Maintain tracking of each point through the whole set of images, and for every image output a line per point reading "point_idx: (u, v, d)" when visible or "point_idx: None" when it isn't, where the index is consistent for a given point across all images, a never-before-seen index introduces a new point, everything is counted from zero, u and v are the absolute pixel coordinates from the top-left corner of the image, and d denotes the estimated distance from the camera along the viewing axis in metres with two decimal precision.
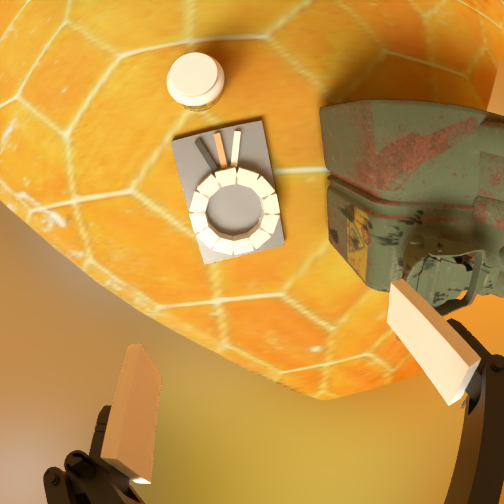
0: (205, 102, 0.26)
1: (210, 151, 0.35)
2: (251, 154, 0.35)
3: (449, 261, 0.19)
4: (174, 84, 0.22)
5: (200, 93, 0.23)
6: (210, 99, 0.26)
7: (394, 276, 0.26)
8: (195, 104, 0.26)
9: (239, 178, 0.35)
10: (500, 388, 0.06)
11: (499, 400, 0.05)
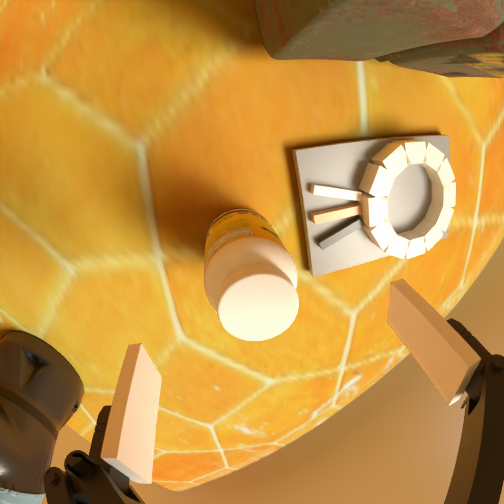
0: (294, 267, 0.18)
1: (334, 225, 0.25)
2: (345, 168, 0.23)
3: None
4: (275, 332, 0.16)
5: (296, 296, 0.16)
6: (291, 261, 0.18)
7: None
8: (296, 282, 0.18)
9: (381, 193, 0.22)
10: (500, 388, 0.06)
11: (499, 400, 0.05)
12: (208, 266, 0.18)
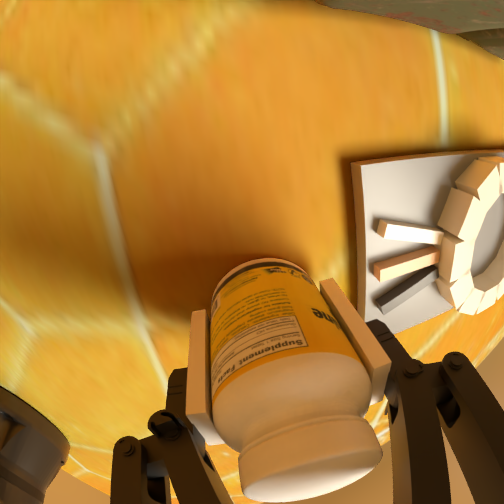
0: None
1: (401, 278, 0.16)
2: (424, 195, 0.14)
3: None
4: (333, 489, 0.07)
5: None
6: (369, 383, 0.09)
7: None
8: None
9: (470, 235, 0.13)
10: (419, 394, 0.07)
11: (421, 407, 0.07)
12: (220, 400, 0.08)
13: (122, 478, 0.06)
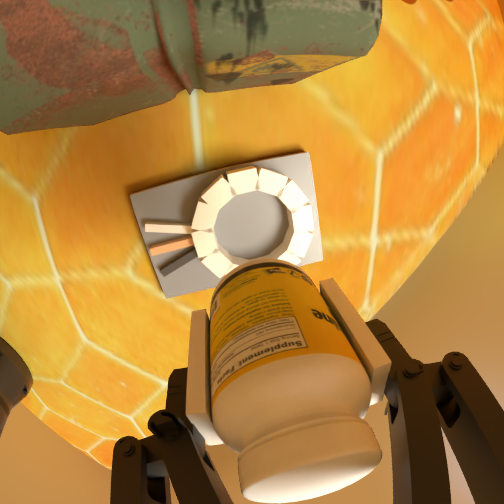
0: (370, 389, 0.09)
1: (175, 255, 0.28)
2: (175, 205, 0.26)
3: None
4: (332, 490, 0.07)
5: None
6: (368, 384, 0.09)
7: (344, 2, 0.07)
8: None
9: (204, 226, 0.26)
10: (419, 394, 0.07)
11: (421, 407, 0.07)
12: (219, 401, 0.08)
13: (123, 478, 0.06)
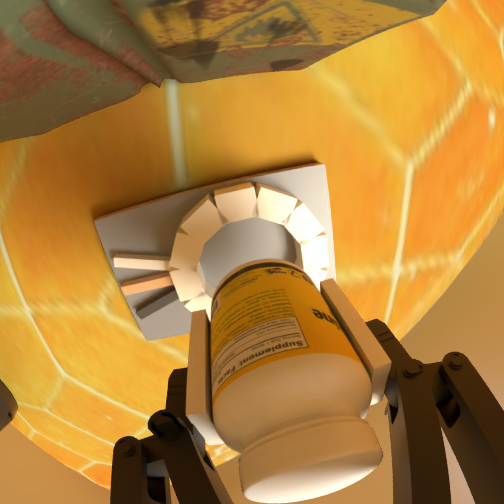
0: (371, 389, 0.09)
1: (153, 294, 0.22)
2: (150, 233, 0.20)
3: None
4: (333, 490, 0.07)
5: None
6: (369, 384, 0.09)
7: None
8: None
9: (186, 264, 0.19)
10: (419, 394, 0.07)
11: (421, 407, 0.07)
12: (220, 401, 0.08)
13: (122, 478, 0.06)
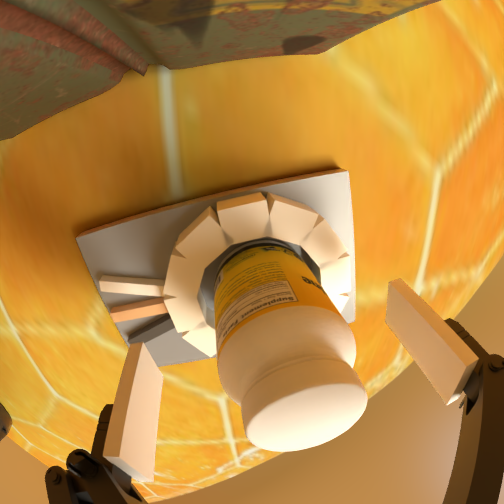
0: (354, 344, 0.11)
1: (147, 320, 0.19)
2: (140, 253, 0.17)
3: None
4: (326, 439, 0.09)
5: (365, 399, 0.09)
6: (352, 337, 0.11)
7: None
8: (353, 361, 0.11)
9: (184, 291, 0.16)
10: (498, 388, 0.06)
11: (497, 400, 0.06)
12: (225, 350, 0.11)
13: None
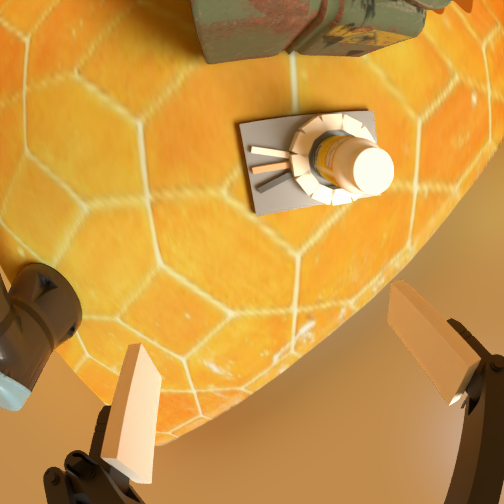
0: None
1: (270, 177, 0.35)
2: (276, 135, 0.32)
3: None
4: (381, 190, 0.25)
5: (392, 166, 0.24)
6: None
7: (409, 7, 0.13)
8: None
9: (302, 151, 0.32)
10: (500, 388, 0.06)
11: (499, 400, 0.05)
12: (338, 150, 0.26)
13: None
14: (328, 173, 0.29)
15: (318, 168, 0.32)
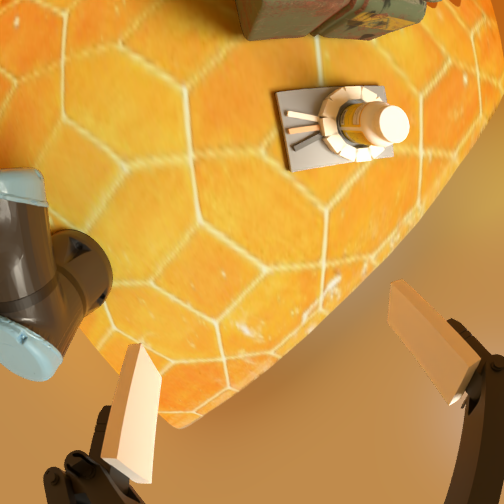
0: None
1: (303, 137, 0.38)
2: (307, 103, 0.36)
3: None
4: (400, 139, 0.28)
5: (408, 121, 0.28)
6: None
7: (414, 0, 0.16)
8: None
9: (331, 115, 0.35)
10: (500, 388, 0.06)
11: (499, 400, 0.05)
12: (364, 109, 0.29)
13: None
14: (355, 130, 0.33)
15: (344, 129, 0.36)
